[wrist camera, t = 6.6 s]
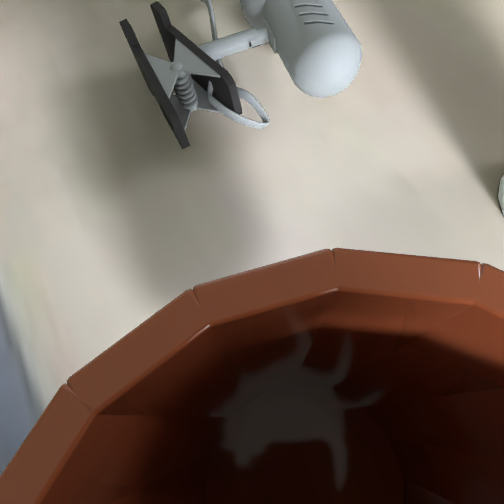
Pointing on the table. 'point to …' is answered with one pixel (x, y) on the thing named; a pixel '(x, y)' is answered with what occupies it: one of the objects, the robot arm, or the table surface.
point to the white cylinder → (501, 194)
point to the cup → (289, 393)
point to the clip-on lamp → (263, 31)
